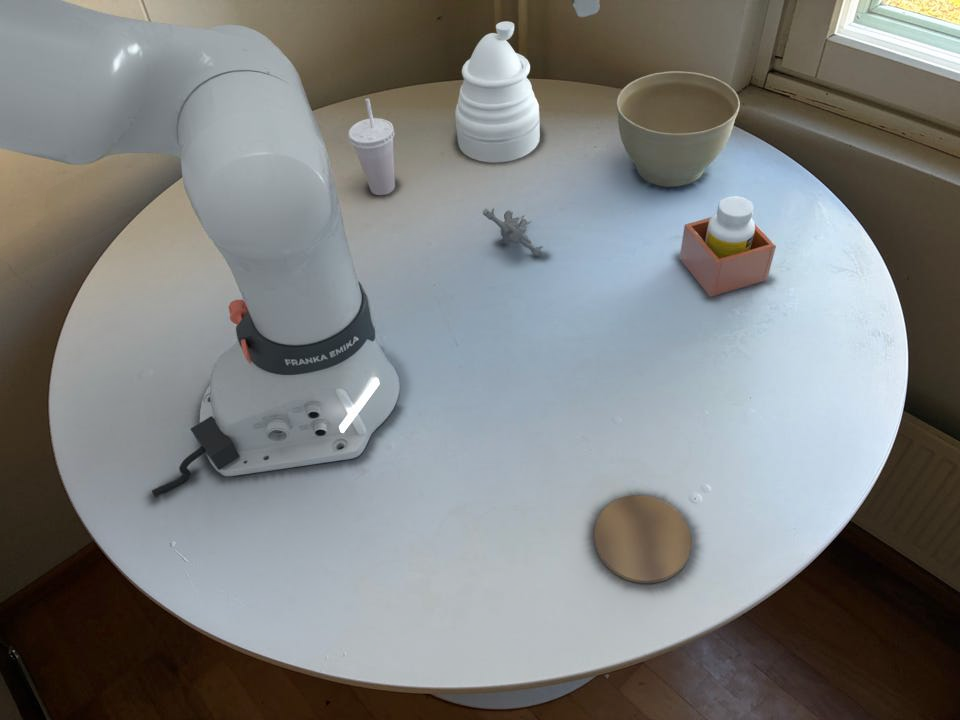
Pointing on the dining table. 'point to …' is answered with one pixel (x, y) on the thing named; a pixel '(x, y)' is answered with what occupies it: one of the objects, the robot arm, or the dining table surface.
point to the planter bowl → (675, 124)
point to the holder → (725, 260)
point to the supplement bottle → (731, 227)
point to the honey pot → (497, 102)
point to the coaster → (642, 539)
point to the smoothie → (375, 151)
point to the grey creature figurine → (513, 230)
